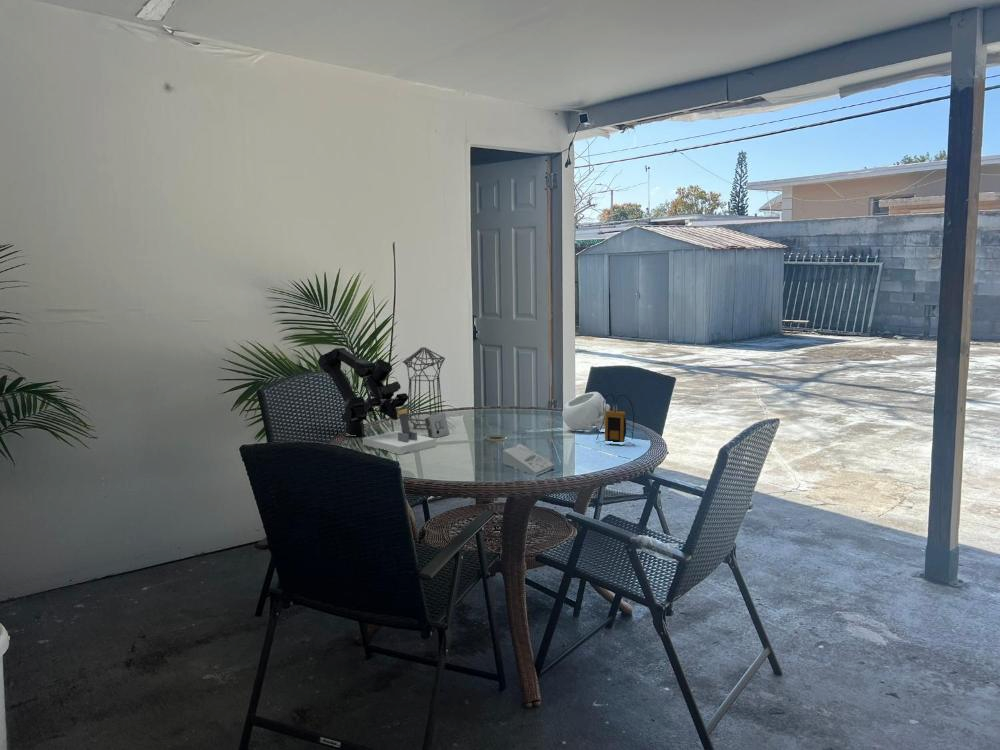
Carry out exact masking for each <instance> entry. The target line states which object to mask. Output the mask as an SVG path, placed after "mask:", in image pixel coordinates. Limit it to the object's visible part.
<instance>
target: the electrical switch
mask: <svg viewBox="0 0 1000 750" xmlns="http://www.w3.org/2000/svg"><path fill="white" fill-rule="evenodd" d="M446 417H447V416H446V413H445V412H442V413H441V412H439V414H431V415H430V414H429V415H428V416H427V417H425V418H424V420H425V421H424V422H425V424H426V425H425V426H426V427H425V428H427V429H426V431H427V435H428V436H427V437H430V438H434V439H437V438H441V437H443V436H448V435H449V434H450V430H449V426H448V421H447V418H446Z"/></svg>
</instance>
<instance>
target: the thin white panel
mask: <svg viewBox="0 0 1000 750" xmlns="http://www.w3.org/2000/svg"><path fill="white" fill-rule="evenodd" d="M410 434H411V437H409V435H408V434H405V433H402V430H401V431H400V430H396V431H390V432H386V433H381V434H375V435H371V436H367V437H362V446H363V445H367V446H372V447H375V448H380V449H384V450H387V451H391V452H394V453H397V454H396V455H398V454H402V455H404V453H406V454H408V453H407V452H410V453H413V452H412V451H414V452H418V450H419V451H423V450H426V449H431V448H435V447H436V446H437V438H433V437H429V436H426V435H425V436H424V435H419V434H418V432H416V431H411V430H410ZM422 449H423V450H422ZM394 453H393V454H394Z"/></svg>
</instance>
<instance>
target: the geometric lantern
mask: <svg viewBox="0 0 1000 750" xmlns="http://www.w3.org/2000/svg"><path fill="white" fill-rule="evenodd" d="M424 355H425V357H424ZM427 355H428V356H427ZM420 356H421V357H420ZM414 359H416V360H415V362H413V360H414ZM424 360H425V362H424ZM428 360H430V361H431V362H428ZM445 360H446V358H445V357H444V356H442V355H439V354H438V353H437V352H434V351H433V350H431V349H430V348H427V347H425V346H424V347H422V346H421V347H420V348H419V349H418V350H416V351H415V352H414V353H412V354H411V355H410V356H408V357H407V358H405V359H404V360H402V363H403V364H405V366H406V368H407V369H406V370H407V376H408V378H407V379H408V393H407V396H408V397H409V398H408V400H407V408H406V409H407V418H408V422H410V423H411V424H412V425H413V429H415V430H427V427H423V428H422V427H417V426H426V423H425V424H424V423H421V422H425V419H420V415H429V416H430V415H434V414H439V413H443V404H442V394H441V392H442V391H441V382H440V374H441V373H440V372H441V368H442V365H443V364H444V362H445ZM418 361H419V362H420V363H417V362H418ZM435 365H436V367H437V370H436V367H435ZM416 366H419V367H420V369H416ZM422 366H423V367H422ZM430 367H432V368H433V369H434V371H435V375H434V376H433V379H429V377H430V375H427V374H426V373H425V371H424V370H426V369H427V368H430ZM409 368H412V369H413V371H414V374H413V376H410V370H409ZM417 371H418V372H419V371H420V372H419V374H417ZM422 373H423V374H422ZM421 374H422V375H421ZM417 377H418V379H417ZM421 377H425V378H426V379H421ZM412 381H414V392H413V393H414V396H413V411H412ZM417 381H418V412H416V411H415V410H416V393H417V391H416V389H417ZM435 381H437V382H436V387H437V388H436V389H437V390H436V389H435ZM421 382H428V397H429V401H428V402H429V412H421ZM431 382H432V389H433V405H434V412H432V402H431V401H432V400H431ZM436 391H437V405H436ZM412 412H413V413H412ZM416 415H417V416H416ZM412 417H414V418H412ZM414 421H415V422H414Z"/></svg>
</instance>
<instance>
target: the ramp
mask: <svg viewBox="0 0 1000 750" xmlns="http://www.w3.org/2000/svg"><path fill="white" fill-rule="evenodd" d="M501 456H502V458H501V459H502V460H501V461H502V462H501V464H502V463H504V464H507V465H510V466H513V467H516V468H518V469H521V470H524V471H527V472H530V473H533V474H538V473H540V472H543V471H545V470H547V469H550V468H552V467H554V468H555V465H554V463H552V462H551V461H550V460H548V459H547V458H545V457H543V456H541V455H540V454H538V453H535V452H534V451H532V450H530V448H529V447H527V446H525V445H523V443H518V444H517V445H515V446H513V447H509V448H506V449H503V450H502V455H501Z"/></svg>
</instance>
